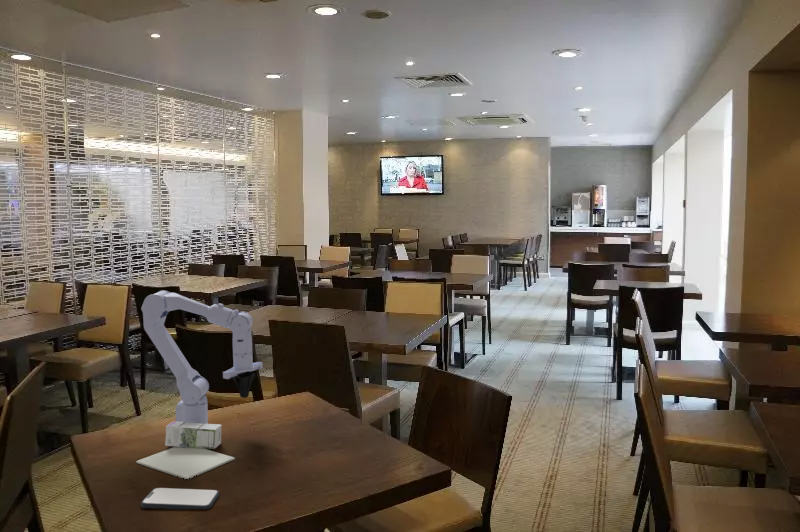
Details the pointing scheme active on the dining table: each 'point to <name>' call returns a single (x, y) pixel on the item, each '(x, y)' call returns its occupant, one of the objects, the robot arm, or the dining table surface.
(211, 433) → the syrup box
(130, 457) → the dining table surface
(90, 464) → the dining table surface
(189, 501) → the phone case
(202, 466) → the mat
